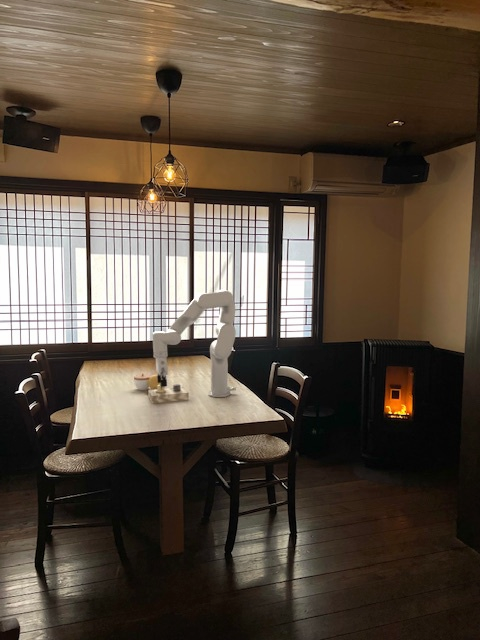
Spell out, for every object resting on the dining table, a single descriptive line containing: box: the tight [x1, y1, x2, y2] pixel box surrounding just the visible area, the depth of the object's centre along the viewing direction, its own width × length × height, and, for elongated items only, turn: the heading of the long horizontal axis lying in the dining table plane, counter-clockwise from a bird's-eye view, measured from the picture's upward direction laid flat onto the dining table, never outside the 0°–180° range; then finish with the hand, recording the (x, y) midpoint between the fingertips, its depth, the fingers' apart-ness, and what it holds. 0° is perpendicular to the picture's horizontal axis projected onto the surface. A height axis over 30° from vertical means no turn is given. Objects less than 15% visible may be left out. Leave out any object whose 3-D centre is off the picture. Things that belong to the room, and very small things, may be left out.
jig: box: [147, 383, 190, 404], centre depth 262 cm, size 20×13×7 cm, turn 110°
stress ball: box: [148, 373, 161, 390], centre depth 278 cm, size 10×10×10 cm
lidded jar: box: [133, 372, 152, 391], centre depth 283 cm, size 11×11×9 cm
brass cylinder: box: [157, 384, 166, 394], centre depth 261 cm, size 4×4×8 cm
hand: (162, 384), depth 261 cm, fingers open, 9 cm apart
